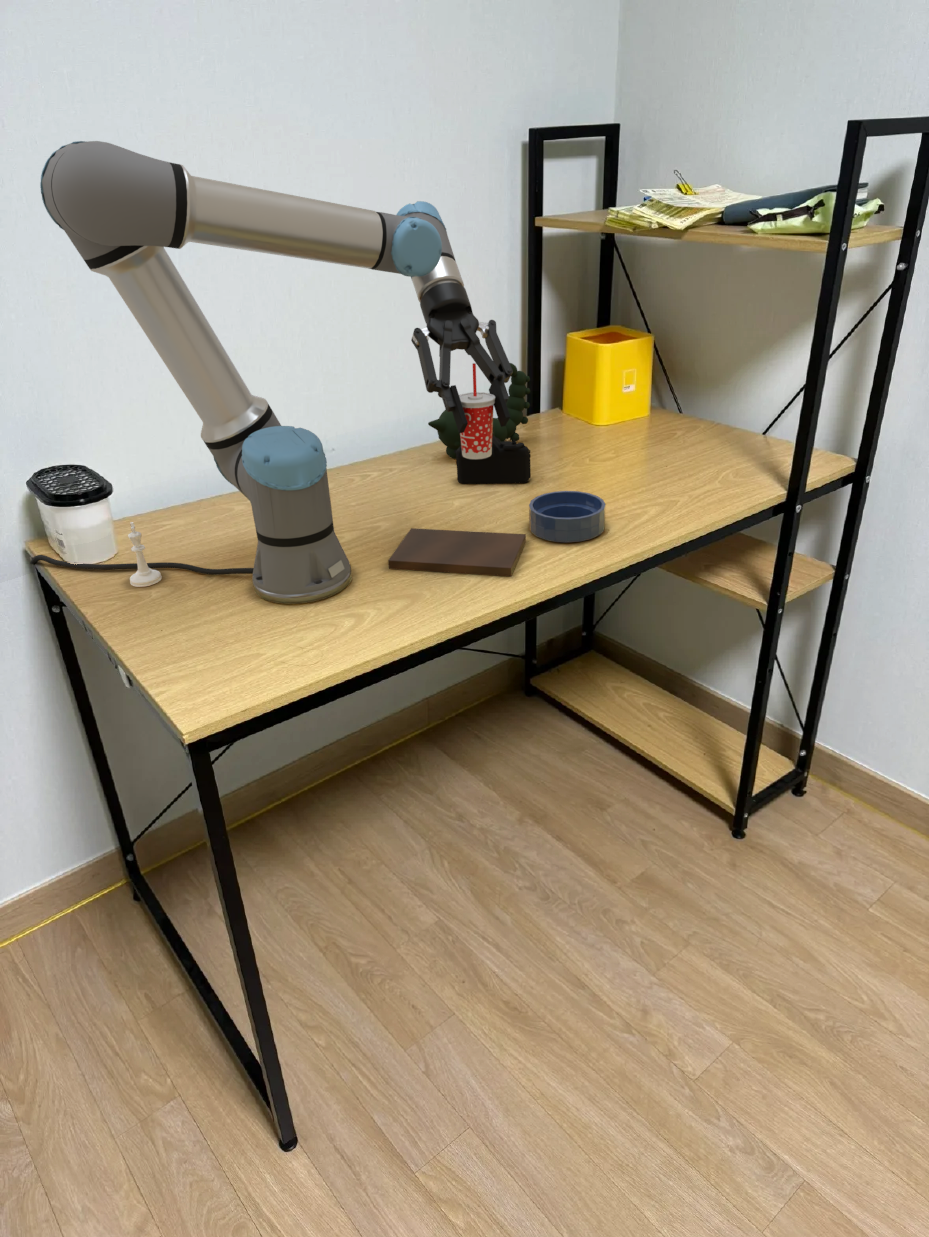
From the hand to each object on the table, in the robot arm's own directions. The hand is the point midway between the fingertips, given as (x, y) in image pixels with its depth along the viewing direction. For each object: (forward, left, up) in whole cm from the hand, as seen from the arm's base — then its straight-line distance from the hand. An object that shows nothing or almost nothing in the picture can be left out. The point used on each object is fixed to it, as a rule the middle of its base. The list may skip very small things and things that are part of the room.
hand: (484, 424), depth 131 cm
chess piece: (-53, -16, -22) cm, 60 cm away
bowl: (+11, +13, -22) cm, 28 cm away
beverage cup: (-2, +3, -6) cm, 7 cm away
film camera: (-7, +37, -22) cm, 44 cm away
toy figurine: (-13, +52, -22) cm, 58 cm away
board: (-5, 0, -22) cm, 23 cm away
